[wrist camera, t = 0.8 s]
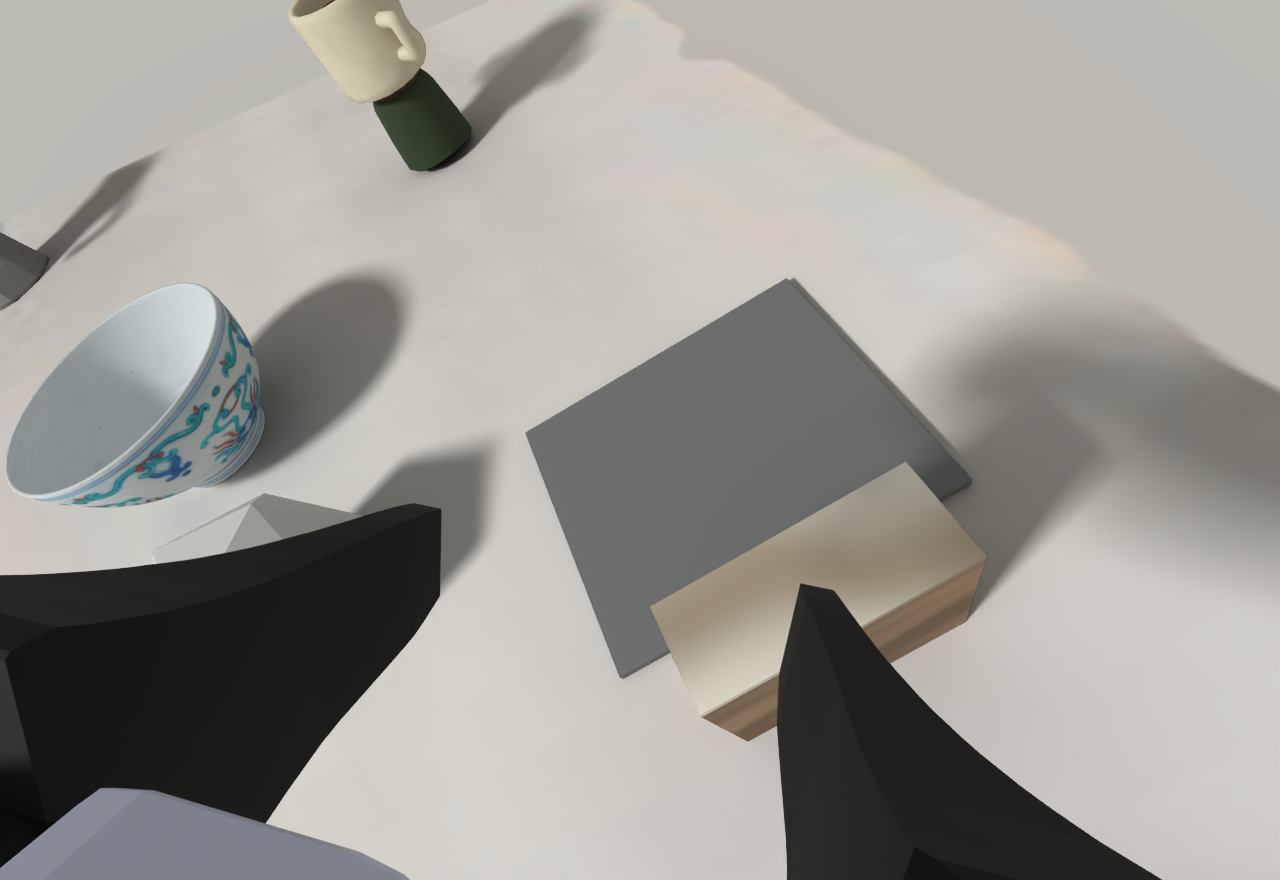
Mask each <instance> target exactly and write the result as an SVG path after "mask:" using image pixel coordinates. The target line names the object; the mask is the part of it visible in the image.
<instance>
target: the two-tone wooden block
mask: <svg viewBox="0 0 1280 880" xmlns="http://www.w3.org/2000/svg"><path fill="white" fill-rule="evenodd" d="M986 558H987V555H986V554H985V553H984V552H983V551H982V550H981V548H980V547H979V546H978V545H977V544H976V543H975V541H974V540H973V539H972V538H971V537H970V536H969V534H968V533H967V532H966V531H965V530H964V529H963V527H962V526H961V525H960V524H959V523H958V522H957V520H956V519H955V518H954V517H953V516H952V515H951V514H950V512H949V511H948V510H947V509H946V508H945V507H944V505H943V504H942V503H941V502H940V501H939V500H938V498H937V497H936V496H935V495H934V494H933V493H932V491H931V490H930V489H929V488H928V487H927V486H926V484H925V483H924V482H923V481H922V480H921V479H920V477H919V476H918V475H917V474H916V473H915V472H914V470H913V469H912V468H911V467H910V466H909V465H908V463H907V462H904V463H902V464H901V465H899V466H897V467H895V468H894V469H892V470H890V471H888V472H887V473H885V474H883V475H881V476H880V477H878V478H876V479H874V480H872V481H871V482H869V483H867V484H865V485H864V486H862V487H860V488H858V489H857V490H855V491H853V492H851V493H850V494H848V495H846V496H844V497H843V498H841V499H839V500H837V501H835V502H834V503H832V504H830V505H828V506H827V507H825V508H823V509H821V510H820V511H818V512H816V513H814V514H813V515H811V516H809V517H807V518H806V519H804V520H802V521H800V522H798V523H797V524H795V525H793V526H791V527H790V528H788V529H786V530H784V531H783V532H781V533H779V534H777V535H776V536H774V537H772V538H770V539H769V540H767V541H765V542H763V543H761V544H760V545H758V546H756V547H754V548H753V549H751V550H749V551H747V552H746V553H744V554H742V555H740V556H739V557H737V558H735V559H733V560H732V561H730V562H728V563H726V564H724V565H723V566H721V567H719V568H717V569H716V570H714V571H712V572H710V573H709V574H707V575H705V576H703V577H702V578H700V579H698V580H696V581H695V582H693V583H691V584H689V585H687V586H686V587H684V588H682V589H680V590H679V591H677V592H675V593H673V594H672V595H670V596H668V597H666V598H665V599H663V600H661V601H659V602H658V603H656V604H654V605H652V606H650V608H651V610H652V612H653V614H654V617H655V619H656V621H657V623H658V626H659V628H660V630H661V632H662V634H663V637H664V639H665V641H666V643H667V646H668V648H669V650H670V652H671V654H672V657H673V659H674V661H675V663H676V666H677V668H678V670H679V672H680V675H681V677H682V679H683V681H684V683H685V686H686V688H687V690H688V692H689V695H690V697H691V699H692V701H693V704H694V706H695V708H696V710H697V712H698V715H699V716H700V717H702V718H704V719H706V720H708V721H710V722H712V723H714V724H715V725H717V726H719V727H721V728H723V729H725V730H727V731H729V732H731V733H733V734H735V735H737V736H738V737H740V738H742V739H744V740H746V741H750V740H752V739H753V738H755V737H757V736H759V735H761V734H762V733H764V732H766V731H768V730H770V729H772V728H773V727H775V726H777V705H778V685H779V672H780V667H781V663H782V659H783V655H784V651H785V646H786V642H787V638H788V634H789V629H790V625H791V621H792V617H793V612H794V608H795V604H796V600H797V595H798V591H799V587H800V583H802V584H807V585H811V586H816V587H821V588H826V589H831V590H834V591H835V592H836V594H837V595H838V596H839V597H840V599H841V600H842V602H843V603H844V604H845V606H846V607H847V609H848V610H849V611H850V613H851V614H852V615H853V617H854V618H855V619H856V621H857V622H858V624H859V625H860V626H861V628H862V629H863V630H864V632H865V633H866V634H867V636H868V637H869V638H870V639H871V641H872V642H873V643H874V645H875V646H876V647H877V648H878V650H879V651H880V652H881V653H882V655H883V656H884V657H885V658H886V659H887V661H888V662H889V663H892V662H894V661H895V660H897V659H899V658H901V657H903V656H904V655H906V654H908V653H910V652H912V651H914V650H915V649H917V648H919V647H921V646H923V645H925V644H926V643H928V642H930V641H932V640H934V639H935V638H937V637H939V636H941V635H943V634H945V633H946V632H948V631H950V630H952V629H954V628H955V627H957V626H959V625H961V624H963V623H965V622H966V620H967V617H968V614H969V611H970V608H971V605H972V602H973V598H974V595H975V592H976V589H977V586H978V583H979V580H980V577H981V574H982V571H983V568H984V565H985V561H986Z"/></svg>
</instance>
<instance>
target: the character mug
mask: <svg viewBox="0 0 1280 880" xmlns="http://www.w3.org/2000/svg"><path fill="white" fill-rule="evenodd" d="M288 14H289V19H290V21H291V22H292V24H293V25H294V26H295V28H296V29H297V31H298V32H299V33H300V34H301V36H302V37H303V38H304V40H305V41H306V42H307V44H308V45H309V46H310V48H311V49H312V50H313V52H314V53H315V54H316V56H317V57H318V58H319V60H320V61H321V62H322V63H323V65H324V66H325V67H326V69H327V70H328V71H329V73H330V74H331V75H332V77H333V78H334V79H335V80H336V82H337V83H338V84H339V86H340V87H341V88H342V90H343V91H344V92H345V94H346V95H347V96H348V97H349V98H350V99H351V100H352V101H354V102H356V103H358V104H364V103H371V102H373V105H374V110H375V112H376V114H377V116H378V117H379V119H380V121H381V123H382V124H383V126H384V128H385V130H386V131H387V133H388V135H389V137H390V138H391V140H392V142H393V144H394V145H395V147H396V148H397V150H398V152H399V153H400V155H401V156H402V158H403V160H404V161H405V163H406V164H407V165H408V167H409V168H410V170H415V171H424V170H426V169H429V168H432V167H434V166H436V165H437V164H439V163H440V162H442V161H443V160H445V159H446V158H447V157H449V156H450V155H451V154H454V153H455V150H457V149H458V148H459V147H460V146H461V145H462V144H463V143H464V142H465V141H466V140H467V139H468V138H469V137H470V134H471V126H470V125H469V123H468V122H467V121H466V119H465V118H464V117H463V115H462V114H461V113H460V111H459V110H458V108H457V107H456V106H455V105H454V103H453V102H452V101H451V100H450V98H449V97H448V96H447V95H446V93H445V92H444V91H443V90H442V89H441V87H440V86H439V85H438V84H437V82H436V81H435V80H434V79H433V77H431V76H430V75H429V74H428V73H427V72H425V71H424V70H422V69H421V68H420V67H421V66H422V65H423V63H424V60H425V56H426V44H425V41H424V39H423V37H422V35H421V34H420V33H419V32H418V31H417V30H416V29H415V28H414V27H413V26H412V25H411V24H410V22H409V20H408V19H407V17H406V16H405V14H404V11H403V9H402V7H401V4H400V2H399V0H295V1H294V3H293V4H292V6H291V8H290V10H289V11H288Z"/></svg>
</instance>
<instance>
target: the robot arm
mask: <svg viewBox="0 0 1280 880" xmlns="http://www.w3.org/2000/svg"><path fill="white" fill-rule="evenodd" d="M440 560H441V509H439V508H434V507H429V506H424V505H419V504H415V503H413V504H407V505H402V506H397V507H394V508H390V509H386V510H382V511H379V512H375V513H372V514H369V515H365V516H362V517H359V518H355V519H352V520H349V521H345V522H342V523H339V524H335V525H332V526H329V527H326V528H322V529H319V530H315V531H312V532H308V533H304V534H300V535H297V536H293V537H289V538H286V539H282V540H278V541H274V542H271V543H267V544H263V545H259V546H255V547H251V548H246V549H241V550H237V551H232V552H227V553H222V554H216V555H211V556H206V557H201V558H195V559H189V560H182V561H174V562H167V563H159V564H152V565H144V566H137V567H129V568H120V569H110V570H98V571H87V572H71V573H56V574H36V575H0V880H409V879H408V878H407V877H406V876H405V875H404V874H402V873H400V872H398V871H396V870H394V869H392V868H390V867H388V866H387V865H385V864H383V863H381V862H379V861H377V860H375V859H373V858H371V857H369V856H367V855H365V854H363V853H361V852H359V851H355V850H352V849H349V848H345V847H342V846H339V845H335V844H332V843H328V842H325V841H322V840H318V839H315V838H312V837H308V836H305V835H302V834H298V833H295V832H292V831H288V830H285V829H282V828H278V827H275V826H272V825H268V824H265V823H266V822H267V820H268V819H269V818H270V816H271V815H272V813H273V812H274V810H275V809H276V807H277V806H278V804H279V803H280V801H281V800H282V798H283V797H284V795H285V794H286V792H287V791H288V789H289V788H290V787H291V785H292V784H293V782H294V781H295V780H296V778H297V777H298V775H299V774H300V773H301V771H302V770H303V768H304V767H305V766H306V764H307V763H308V761H309V760H310V759H311V757H312V756H313V754H314V753H315V752H316V750H317V749H318V747H319V746H320V745H321V743H322V742H323V741H324V739H325V738H326V737H327V736H328V735H329V733H330V732H331V731H332V730H333V728H334V727H335V726H336V725H337V723H338V722H339V721H340V720H341V719H342V718H343V716H344V715H345V714H346V713H347V712H348V711H349V710H350V708H351V707H352V706H353V705H354V704H355V703H356V702H357V701H358V699H359V698H360V697H361V696H362V695H363V694H364V693H365V692H366V690H367V689H368V688H369V687H370V686H371V685H372V684H373V682H374V681H375V680H376V679H377V678H378V677H379V676H380V675H381V673H382V672H383V671H384V670H385V669H386V668H387V667H388V665H389V664H390V663H391V662H392V661H393V660H394V659H395V657H396V656H397V655H398V654H399V653H400V652H401V650H402V649H403V648H404V647H405V646H406V645H407V643H408V642H409V641H410V640H411V639H412V637H413V636H414V635H415V634H416V632H417V631H418V629H419V628H420V626H421V625H422V623H423V622H424V620H425V619H426V617H427V616H428V614H429V612H430V611H431V609H432V608H433V606H434V604H435V603H436V601H437V600H438V598H439V596H440ZM777 732H778V746H779V759H780V771H781V784H782V796H783V808H784V821H785V833H786V851H787V880H1162V879H1160V878H1158V877H1157V876H1155V875H1153V874H1152V873H1150V872H1149V871H1147V870H1145V869H1144V868H1142V867H1140V866H1139V865H1137V864H1135V863H1134V862H1132V861H1130V860H1129V859H1127V858H1126V857H1124V856H1122V855H1121V854H1119V853H1117V852H1116V851H1114V850H1112V849H1111V848H1109V847H1107V846H1106V845H1104V844H1102V843H1101V842H1099V841H1098V840H1096V839H1095V838H1093V837H1092V836H1090V835H1089V834H1087V833H1086V832H1084V831H1083V830H1082V829H1080V828H1079V827H1077V826H1076V825H1074V824H1073V823H1071V822H1070V821H1068V820H1067V819H1066V818H1064V817H1063V816H1061V815H1060V814H1058V813H1057V812H1055V811H1054V810H1052V809H1051V808H1050V807H1048V806H1047V805H1045V804H1044V803H1043V802H1041V801H1040V800H1039V799H1037V798H1036V797H1035V796H1033V795H1032V794H1030V793H1029V792H1028V791H1026V790H1025V789H1024V788H1022V787H1021V786H1020V785H1018V784H1017V783H1016V782H1015V781H1013V780H1012V779H1011V778H1010V777H1008V776H1007V775H1006V774H1005V773H1003V772H1002V771H1001V770H1000V769H998V768H997V767H996V766H995V765H993V764H992V763H991V762H990V761H988V760H987V759H986V758H985V757H984V756H982V755H981V754H980V753H979V752H978V751H976V750H975V749H974V748H973V747H972V746H971V745H970V744H968V743H967V742H966V741H965V740H964V739H963V738H962V737H961V736H959V735H958V734H957V733H956V732H955V731H954V730H953V729H952V728H951V727H950V726H949V725H948V724H947V723H946V722H945V721H944V720H942V719H941V718H940V717H939V716H938V715H937V714H936V713H935V712H934V711H933V710H932V709H931V708H930V707H929V706H928V705H927V704H926V703H925V702H924V701H923V700H922V699H921V698H920V697H919V696H918V695H917V693H916V692H915V691H914V690H913V689H912V688H911V687H910V686H909V685H908V684H907V682H906V681H905V680H904V679H903V678H902V677H901V676H900V675H899V674H898V672H897V671H896V670H895V669H894V668H893V667H892V665H891V664H890V663H889V662H888V661H887V659H886V658H885V657H884V656H883V655H882V653H881V652H880V651H879V650H878V648H877V647H876V646H875V645H874V643H873V642H872V641H871V639H870V638H869V637H868V636H867V634H866V633H865V632H864V630H863V629H862V628H861V626H860V625H859V624H858V622H857V621H856V619H855V618H854V617H853V615H852V614H851V613H850V611H849V610H848V609H847V607H846V606H845V604H844V603H843V602H842V600H841V599H840V597H839V596H838V595H837V594H836V592H835V591H834V590H831V589H826V588H821V587H816V586H811V585H807V584H802V583H800V587H799V591H798V595H797V600H796V604H795V608H794V612H793V617H792V621H791V625H790V629H789V634H788V638H787V642H786V646H785V651H784V655H783V659H782V663H781V667H780V672H779V685H778V705H777Z"/></svg>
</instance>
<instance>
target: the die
mask: <svg viewBox="0 0 1280 880" xmlns="http://www.w3.org/2000/svg"><path fill="white" fill-rule="evenodd" d="M359 517H362V515H358V514H353V513H349V512H344V511H340V510H335V509H331V508H327V507H322V506H318V505H313V504H309V503H304V502H300V501H296V500H291V499H287V498H282V497H278V496H273V495H269V494H265V493H264V494H262V495H260V496H258V497H256V498H254V499H252V500H250V501H248V502H246V503H245V504H243V505H241V506H239V507H237V508H235V509H233V510H231V511H229V512H227V513H225V514H223V515H221V516H220V517H218V518H216V519H214V520H212V521H210V522H208V523H206V524H204V525H202V526H200V527H198V528H196V529H195V530H193V531H191V532H189V533H187V534H185V535H183V536H181V537H179V538H177V539H175V540H173V541H172V542H170V543H168V544H166V545H164V546H162V547H160V548H158V549H156V550H154V551H152V552H151V553H152V559H153V564H159V563H167V562H174V561H182V560H189V559H195V558H201V557H206V556H211V555H216V554H222V553H227V552H232V551H237V550H241V549H246V548H251V547H255V546H259V545H263V544H267V543H271V542H274V541H278V540H282V539H286V538H289V537H293V536H297V535H300V534H304V533H308V532H312V531H315V530H319V529H322V528H326V527H329V526H332V525H335V524H339V523H342V522H345V521H349V520H352V519H355V518H359Z"/></svg>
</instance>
